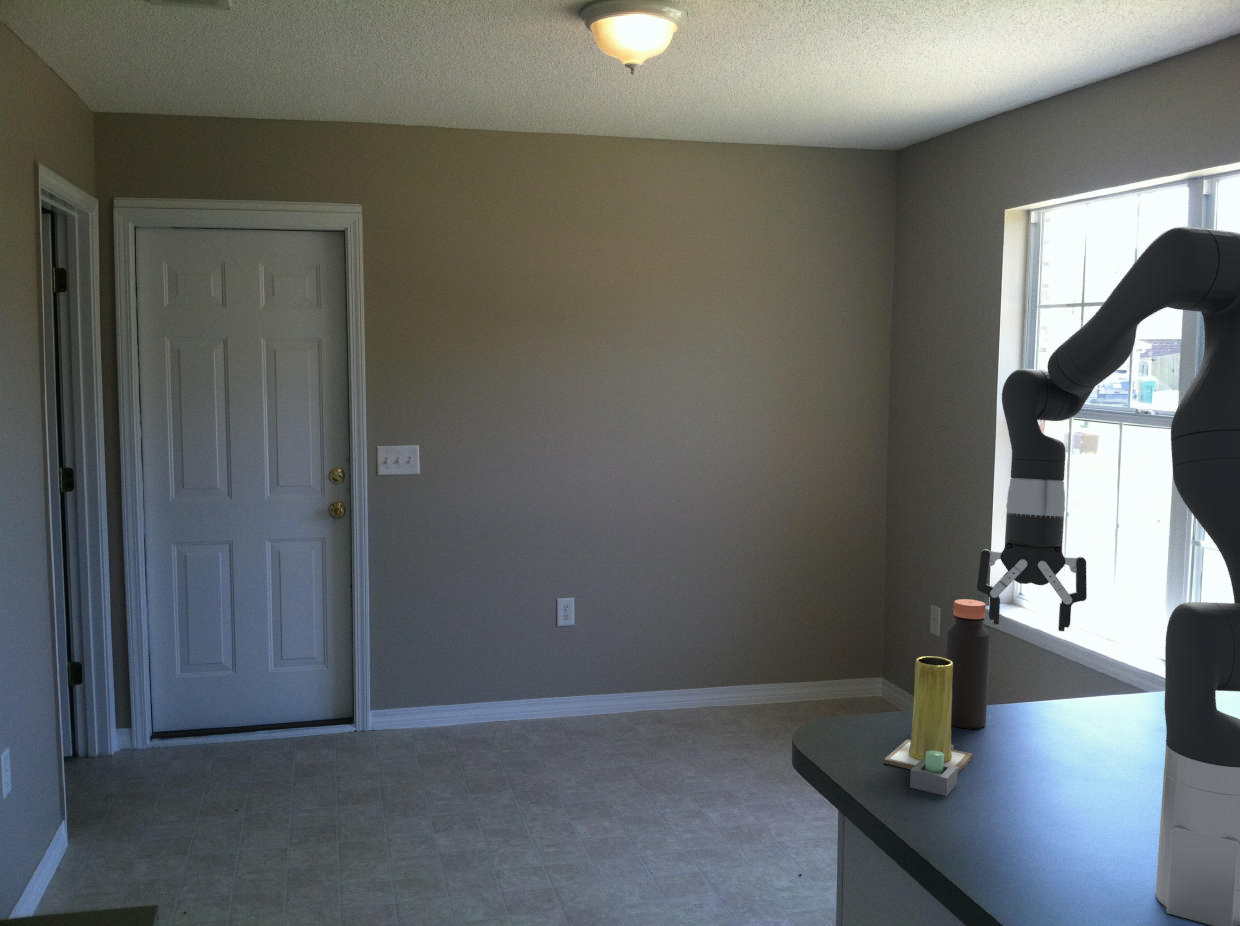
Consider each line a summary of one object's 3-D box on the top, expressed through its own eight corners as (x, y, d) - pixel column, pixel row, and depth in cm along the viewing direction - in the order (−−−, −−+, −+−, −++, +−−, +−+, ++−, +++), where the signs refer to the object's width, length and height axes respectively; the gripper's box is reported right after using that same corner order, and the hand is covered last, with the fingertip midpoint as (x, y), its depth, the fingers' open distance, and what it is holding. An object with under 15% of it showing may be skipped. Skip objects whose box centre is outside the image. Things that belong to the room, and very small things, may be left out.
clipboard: (952, 779, 147) (953, 769, 147) (884, 763, 153) (884, 753, 152) (972, 757, 155) (973, 748, 155) (906, 743, 161) (907, 734, 161)
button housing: (946, 796, 141) (947, 778, 141) (909, 787, 144) (910, 769, 144) (956, 784, 145) (957, 766, 145) (921, 775, 148) (922, 758, 148)
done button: (940, 780, 143) (941, 758, 142) (922, 776, 144) (923, 754, 144) (945, 775, 145) (946, 752, 144) (928, 771, 146) (929, 749, 146)
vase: (904, 758, 153) (908, 663, 151) (913, 745, 158) (917, 653, 157) (947, 766, 150) (952, 669, 149) (955, 752, 155) (959, 658, 154)
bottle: (933, 720, 171) (939, 601, 169) (957, 712, 176) (963, 595, 174) (970, 732, 166) (976, 609, 164) (994, 724, 170) (1000, 603, 168)
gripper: (981, 509, 146) (974, 625, 146) (1092, 516, 141) (1085, 636, 141) (982, 507, 153) (975, 618, 153) (1088, 514, 148) (1081, 629, 148)
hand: (1028, 627), depth 147 cm, fingers open, 8 cm apart
